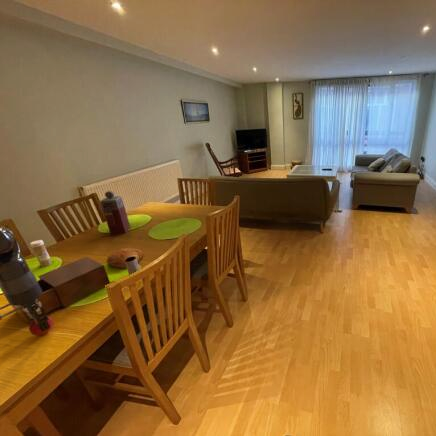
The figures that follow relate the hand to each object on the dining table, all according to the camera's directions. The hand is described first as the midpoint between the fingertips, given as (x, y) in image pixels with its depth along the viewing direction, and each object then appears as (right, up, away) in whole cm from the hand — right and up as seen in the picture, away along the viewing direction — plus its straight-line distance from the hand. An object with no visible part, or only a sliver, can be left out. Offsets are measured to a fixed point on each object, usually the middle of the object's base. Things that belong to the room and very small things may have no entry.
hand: (42, 325), depth 82 cm
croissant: (-1, +14, +44) cm, 46 cm away
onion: (0, -4, +1) cm, 4 cm away
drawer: (-12, +2, +11) cm, 17 cm away
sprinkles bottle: (-41, +13, +41) cm, 59 cm away
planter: (+12, +9, +31) cm, 34 cm away
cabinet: (-6, +5, +22) cm, 24 cm away
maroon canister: (-28, +28, +77) cm, 86 cm away
